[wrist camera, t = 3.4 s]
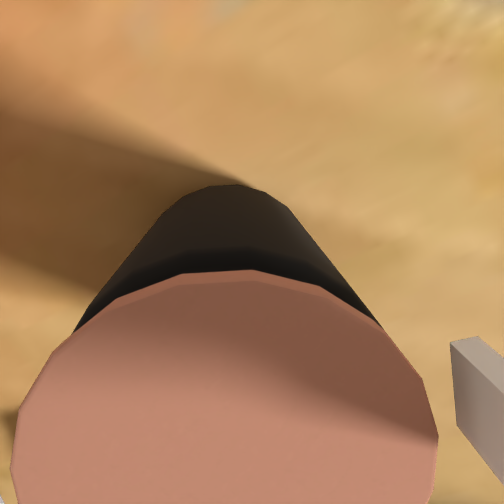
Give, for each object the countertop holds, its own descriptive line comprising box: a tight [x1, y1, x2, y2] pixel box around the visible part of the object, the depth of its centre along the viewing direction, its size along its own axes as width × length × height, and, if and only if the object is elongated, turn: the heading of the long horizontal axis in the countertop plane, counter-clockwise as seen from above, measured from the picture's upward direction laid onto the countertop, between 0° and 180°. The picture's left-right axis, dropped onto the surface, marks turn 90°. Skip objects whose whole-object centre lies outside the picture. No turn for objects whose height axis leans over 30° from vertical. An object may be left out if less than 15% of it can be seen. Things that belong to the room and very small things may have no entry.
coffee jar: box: [10, 185, 439, 504], centre depth 19 cm, size 11×11×18 cm
